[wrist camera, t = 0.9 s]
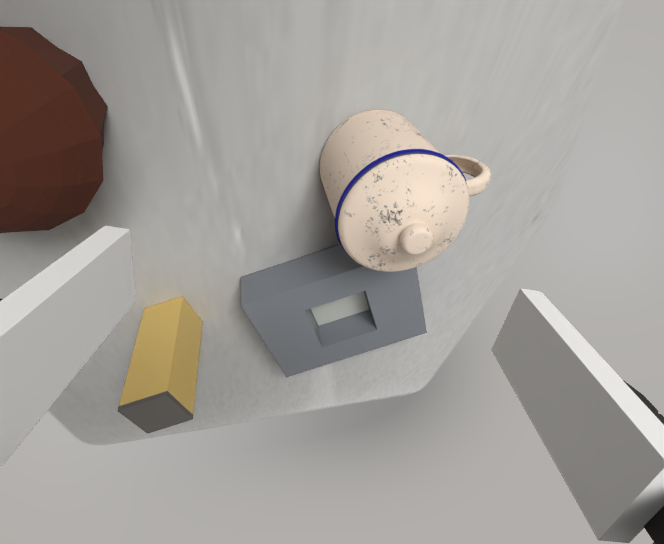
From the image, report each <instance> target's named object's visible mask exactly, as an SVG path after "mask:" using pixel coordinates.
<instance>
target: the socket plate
mask: <svg viewBox="0 0 664 544" xmlns="http://www.w3.org/2000/svg"><path fill="white" fill-rule="evenodd" d="M241 307H242V309H243V310H244V312H245V313H246V315H247V317H248V318H249V320H250V321H251V323H252V324H253V326H254V328H255V329H256V331H257V332H258V334H259V335H260V337H261V338H262V340H263V342H264V343H265V345H266V346H267V348H268V349H269V351H270V353H271V354H272V356H273V357H274V359H275V360H276V362H277V363H278V365H279V367H280V368H281V370H282V371H283V373H284V374H285V376H286V377H289V376H292V375H295V374H298V373H301V372H304V371H307V370H311V369H314V368H317V367H320V366H323V365H326V364H330V363H333V362H336V361H339V360H342V359H345V358H348V357H352V356H355V355H358V354H361V353H364V352H367V351H370V350H374V349H377V348H380V347H383V346H386V345H389V344H392V343H396V342H399V341H402V340H405V339H408V338H411V337H415V336H418V335H421V334H424V333H427V331H426V325H425V319H424V312H423V306H422V300H421V294H420V287H419V281H418V275H417V268H416V267H415V268H412V269H408V270H403V271H396V272H384V271H377V270H373V269H370V268H367V267H365V266H363V265H361V264H359V263H357V262H356V261H355V260H353V259H352V258H351V257H350V256H349V255H348V254H347V253H346V252H345V251H344V249H343V248H342V246H341V245H337V246H334V247H331V248H328V249H325V250H322V251H318V252H315V253H312V254H309V255H306V256H303V257H300V258H297V259H294V260H291V261H288V262H285V263H282V264H279V265H276V266H273V267H270V268H267V269H264V270H261V271H258V272H255V273H252V274H249V275H246V276H243V277H241Z"/></svg>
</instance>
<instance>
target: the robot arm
mask: <svg viewBox="0 0 664 544" xmlns="http://www.w3.org/2000/svg"><path fill="white" fill-rule="evenodd" d="M135 302H136V296H135V284H134V273H133V261H132V249H131V237H130V229H124V228H117V227H110V226H104V227H102V228H101V229H100V230H98V231H97V232H95V233H94V234H93V235H91V236H90V237H89V238H87V239H86V240H84V241H83V242H82V243H80V244H79V245H77V246H76V247H75V248H73V249H72V250H71V251H69V252H68V253H66V254H65V255H64V256H62V257H61V258H59V259H58V260H57V261H55V262H54V263H53V264H51V265H50V266H48V267H47V268H46V269H44V270H43V271H42V272H40V273H39V274H37V275H36V276H35V277H33V278H32V279H30V280H29V281H28V282H26V283H25V284H24V285H22V286H21V287H19V288H18V289H17V290H15V291H14V292H12V293H11V294H10V295H8V296H7V297H6V298H4V299H0V468H1V467H2V466H3V464H4V463H5V462H6V461H7V459H8V458H9V457H10V456H11V454H12V453H13V452H14V451H15V449H16V448H17V447H18V446H19V445H20V443H21V442H22V441H23V440H24V438H25V437H26V436H27V435H28V434H29V432H30V431H31V430H32V429H33V427H34V426H35V425H36V424H37V423H38V421H39V420H40V419H41V417H42V416H43V415H44V414H45V412H46V411H47V410H48V409H49V408H50V407H51V405H52V404H53V403H54V402H55V400H56V399H57V398H58V397H59V396H60V394H61V393H62V392H63V391H64V389H65V388H66V387H67V386H68V384H69V383H70V382H71V381H72V380H73V378H74V377H75V376H76V375H77V373H78V372H79V371H80V370H81V368H82V367H83V366H84V365H85V364H86V362H87V361H88V360H89V359H90V357H91V356H92V355H93V354H94V352H95V351H96V350H97V349H98V348H99V346H100V345H101V344H102V343H103V341H104V340H105V339H106V338H107V337H108V335H109V334H110V333H111V332H112V330H113V329H114V328H115V327H116V325H117V324H118V323H119V322H120V321H121V319H122V318H123V317H124V316H125V314H126V313H127V312H128V311H129V309H130V308H131V307H132V306H133V305H134V303H135ZM492 352H493V354H494V356H495V357H496V359H497V361H498V363H499V364H500V366H501V368H502V370H503V372H504V373H505V375H506V377H507V379H508V381H509V382H510V384H511V386H512V388H513V389H514V391H515V393H516V395H517V397H518V398H519V400H520V402H521V404H522V406H523V407H524V409H525V411H526V412H527V414H528V416H529V418H530V420H531V422H532V423H533V425H534V427H535V429H536V430H537V432H538V434H539V436H540V437H541V439H542V441H543V443H544V445H545V446H546V448H547V450H548V452H549V453H550V455H551V457H552V459H553V461H554V462H555V464H556V466H557V468H558V469H559V471H560V473H561V475H562V477H563V479H564V480H565V482H566V484H567V485H568V487H569V489H570V491H571V492H572V495H573V496H574V498H575V500H576V502H577V503H578V505H579V507H580V509H581V510H582V512H583V514H584V516H585V517H586V519H587V521H588V523H589V525H590V526H591V528H592V530H593V532H594V534H595V535H596V537H597V539H598V540H603V541H613V542H623V543H629V542H630V541H631V540H632V539H633V538H634V537H635V536H636V535H637V534H638V533H639V532H640V531H641V530H642V529H643V528H645V529H646V531H647V532H648V534H649V535H650V537H651V538H652V540H654V543H653V544H664V417H663V416H662V415H661V414H658V410H657V409H656V408H655V407H654V406H653V405H652V404H651V403H650V402H649V401H648V400H647V399H646V398H645V397H644V395H642V394H641V393H640V392H638V391H637V390H636V389H634V388H633V387H632V386H630V385H629V384H628V383H626V382H625V381H623V380H622V379H621V378H620V377H619V376H618V375H617V374H616V373H615V371H614V370H613V369H612V368H611V367H610V366H609V365H608V364H607V363H606V362H605V361H604V360H603V358H602V357H601V356H600V355H599V354H598V353H597V352H596V351H595V350H594V349H593V348H592V347H591V345H590V344H589V343H588V342H587V341H586V340H585V339H584V338H583V337H582V336H581V335H580V334H579V332H578V331H577V330H576V329H575V328H574V327H573V326H572V325H571V324H570V323H569V322H568V321H567V319H566V318H565V317H564V316H563V315H562V314H561V313H560V312H559V311H558V310H557V309H556V308H555V306H554V305H553V304H552V303H551V302H550V301H549V300H548V299H547V298H546V297H545V296H544V294H542V292H540V291H533V290H527V289H520V290H519V292H518V294H517V297H516V299H515V301H514V303H513V305H512V307H511V309H510V311H509V313H508V316H507V318H506V320H505V322H504V324H503V326H502V328H501V330H500V333H499V335H498V337H497V339H496V341H495V343H494V345H493V347H492Z"/></svg>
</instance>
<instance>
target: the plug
mask: <svg viewBox="0 0 664 544" xmlns="http://www.w3.org/2000/svg"><path fill="white" fill-rule="evenodd" d="M201 332H202V320H201V319H200V318H199V316H198V315H197V314H196V312H195V311H194V310H193V309H192V307H191V306H190V305H189V303H188V302H187V301H186V300H185V298H184V297H183V296H181V297H178V298H175V299H172V300H169V301H166V302H163V303H160V304H157V305H154V306H151V307H148V308H145V309H144V313H143V316H142V320H141V324H140V328H139V332H138V335H137V339H136V343H135V347H134V350H133V354H132V358H131V362H130V366H129V369H128V373H127V377H126V381H125V385H124V388H123V392H122V396H121V400H120V404H119V407H118V412H120V413H121V414H122V415H124V416H125V417H126V418H128V419H129V420H130V421H132V422H133V423H134V424H136V425H137V426H138V427H140V428H141V429H142V430H144V431H145V432H146V433H151V432H154V431H157V430H160V429H163V428H167V427H170V426H173V425H176V424H179V423H182V422H186V421H189V420H192V419H193V411H194V402H195V392H196V382H197V372H198V362H199V352H200V342H201Z"/></svg>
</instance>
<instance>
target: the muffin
mask: <svg viewBox="0 0 664 544" xmlns="http://www.w3.org/2000/svg"><path fill="white" fill-rule="evenodd" d="M106 110H107V105H106V103H105V102H104V100H103V99H102V97H101V96H100V95H99V93H98V92H97V90H96V89H95V87H94V86H93V84H92V82H91V80H90V78H89V76H88V74H87V71H86V69H85V67H84V65H83V63H82V61H80V60H78V59H76V58H75V57H73V56H71V55H70V54H68V53H66V52H64V51H63V50H61V49H59V48H57V47H56V46H55V45H53V44H52V43H51V42H49V41H48V40H47V39H46V38H44V37H43V36H42V35H40V34H39V33H38V32H36V31H35V30H34V29H33V28H31V27H0V233H7V232H21V231H38V230H50V229H52V228H54V227H56V226H58V225H60V224H62V223H64V222H66V221H68V220H70V219H72V218H74V217H76V216H78V215H80V214H82V213H84V212H85V210H86V208H87V207H88V205H89V203H90V202H91V200H92V198H93V197H94V195H95V193H96V192H97V190H98V188H99V187H100V185H101V183H102V182H103V166H102V149H103V144H104V141H103V124H104V119H105V115H106Z"/></svg>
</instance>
